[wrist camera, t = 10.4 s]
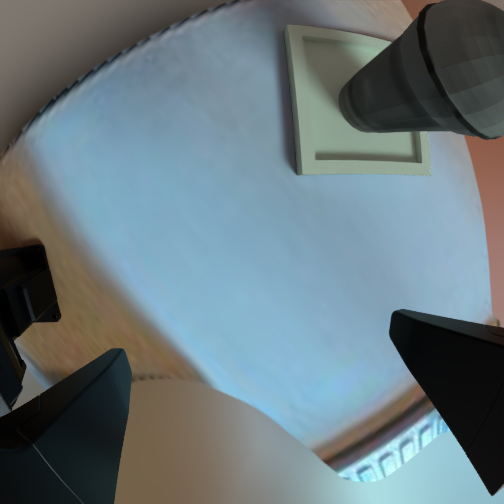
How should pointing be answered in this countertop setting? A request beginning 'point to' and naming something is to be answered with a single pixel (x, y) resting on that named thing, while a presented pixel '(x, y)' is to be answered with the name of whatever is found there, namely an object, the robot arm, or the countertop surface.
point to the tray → (329, 114)
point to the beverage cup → (435, 75)
